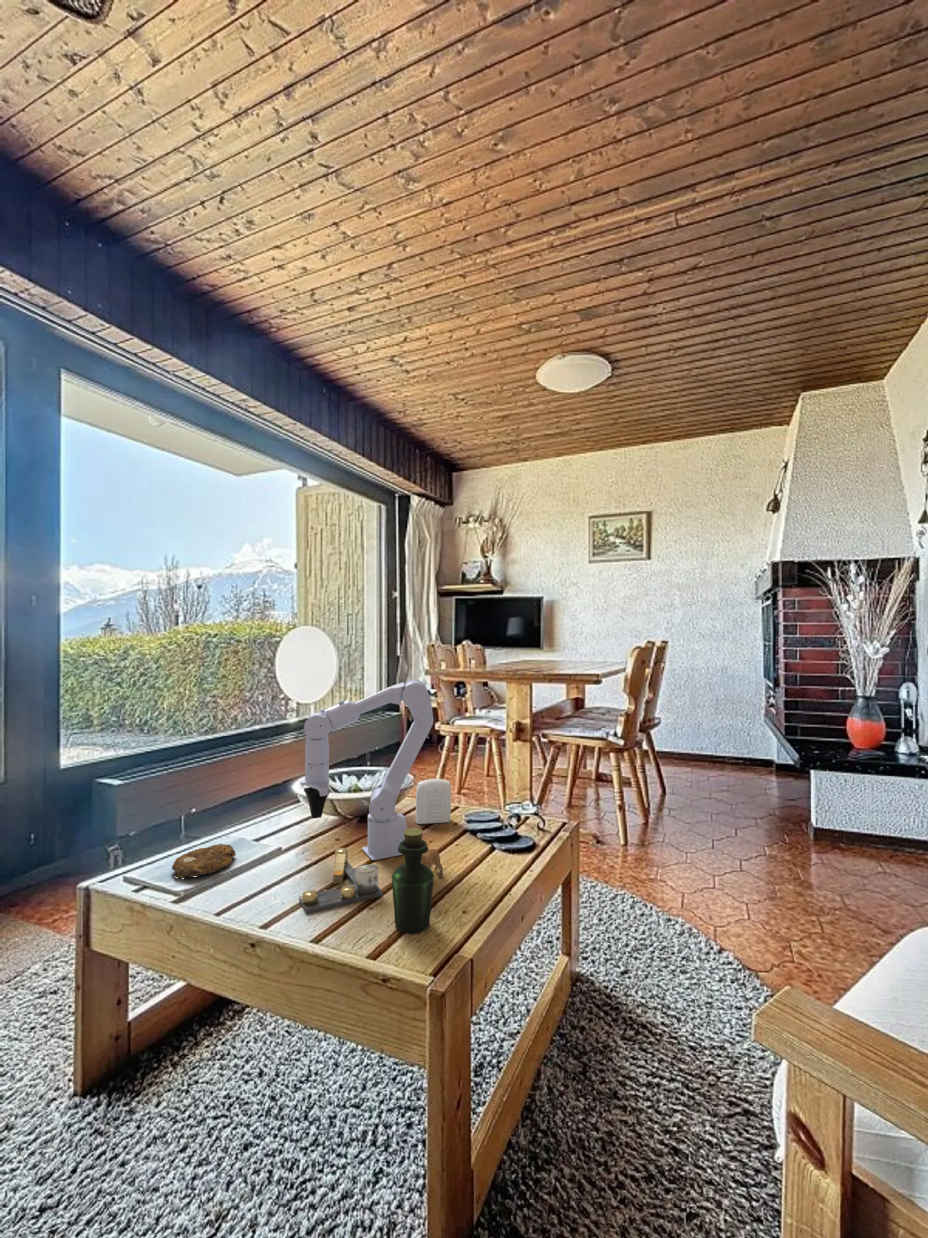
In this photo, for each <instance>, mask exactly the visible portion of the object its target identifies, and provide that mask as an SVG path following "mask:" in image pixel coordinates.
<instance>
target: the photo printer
mask: <svg viewBox="0 0 928 1238" xmlns="http://www.w3.org/2000/svg"><path fill="white" fill-rule="evenodd" d="M415 792H416V795H415V797H416V798H415V799H416V800H415V823H416V824H417V825H425V824H426V825H427V824H442V823H443V824H445V823H450V822H451V813H452V812H451V810H452V808H451V807H452V803H451V802H452V787H451V781H449V780H446V779H444V778H443V779H441V778H429V779H425V780H421V781H418V782H417V784H416V791H415Z"/></svg>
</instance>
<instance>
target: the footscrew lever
mask: <svg viewBox="0 0 928 1238" xmlns="http://www.w3.org/2000/svg"><path fill="white" fill-rule="evenodd" d="M348 858H349V849H348V848H346V847H339V848H336V849H335V850H334V869H333V874H332V884H334V885H336V884H343V883H344V876H345V874H344V868H345V862H348V863H349V859H348Z"/></svg>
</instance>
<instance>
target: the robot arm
mask: <svg viewBox="0 0 928 1238" xmlns="http://www.w3.org/2000/svg"><path fill="white" fill-rule="evenodd" d="M402 701H403V703H404V704H405V706H406V707H407V708H408V710H409V711H410V713H411V716H412V718H413V722H412V723H411V725H410V728H409V730H408V731H407V733H406V735H405V737H404V739H403V741H402V742H401V745H400V746H399V748H398V751H397V753H396V755H395V757H394V759H393V760H392V762H391V764H390V767H389V768H388V770H387V772H386V773H385V776H384V777H383V778H382V780H381V782H380V784H378V786H376V787H375V788H374V789H373V790H372V791H371V794H370V803H369V806H368V812H369V813H368V814H367V846H363V847H362V848H361V850H362V851H363V852H364V853H365V854H366V856H367V857H368V858H369V859H370V860H371V861H378V860H383V859H388V858H392V857H398V856H402V855H403V854H401V853H399V852H398V847H399V844H400V842H402V841H403V840H405V838H404V833H403V831H404V830H406V829H408V826H407V819H406V817H405V816H404V814H402V813H397V812H396V802H397V800H398V797H399V796H400V792H401V789H402V786H403V784H404V783H405V780H406V778H407V777H408V774H409V772H410V770H411V769H412V767H413V764H414V762H415V760H416V758H417V756H418V755H419V752H420V750H421V748H422V746H423V744H424V742H425V740H426V738H427V736H428V734H429V733H430V731H431V729H432V727H433V725H434V720H435V719H434V715H433V714H434V713H433V705H432V698H431V695H430V693H429V691H428V689H427V688H426V685H425V684H424V682H422V680H419V679H416V678H415V679H414V678H412V679H409V680H407V681H406V682H404V681H403V682H399V683H397V684H393V685H391V686H388V687H385V688H384V689H382V690H380V691H377V692H375V693H373V694H371V695H369V696H367V697H365V698H363V699H360V700H357V701H356V702H355V701H352V700H350V699H348V700H344V699H341V700H339V701H338V702H337V703H338V704H336V705H334V706H331V707H329V708H327V709H325V708H321V709H320V712H315V713H313V714H311V715H310V716H309V717H308V718H307V720H305V722H304V726H303V729H304V734H305V735H306V736H305V746H304V747H305V750H304V754H305V755H304V756H305V757H304V763H305V764H304V780H300V781H299V785H300V786H306V787H305V788H303V791H304V793H305V795H306V798H307V801H308V805H309V811H310V815H311V818H312V819H319V818H320V819H321V818H322V815H323V812H324V807H325V804H326V801H327V799H328V797H329V795H330V792H331V790H330V787H329V785H330V782H331V781H330V778H329V777H330V772H329V771H330V766H329V765H330V743H329V732H335V731H338V730H340V729H342V728H345V727H347V726H349V725H351V724H354V723H356V722H358V720H359V717H360V715H362V714H364V713H366V712H369V711H370V712H371V711H372V710H374V709H377V708H380V707H382V706H384V705H387V704H393V705H398V706H401V705H402ZM403 856H404V855H403Z"/></svg>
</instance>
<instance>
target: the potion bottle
mask: <svg viewBox="0 0 928 1238" xmlns="http://www.w3.org/2000/svg"><path fill="white" fill-rule="evenodd" d="M403 833H404V838H405V840H403V841H402V842H400V844H399V847H398V852H399V853H401V854H403V858H404V863H402V864H401V865H399V866H398V867H395V869H394V870H393V873H392V874H391V887H392V888H391V889H392V899H393V900H392V901H393V912H394V913H393V914H394V915H393V916H394V925H395V928H396V929H397V930H398V931H400V932H401V933H403V934H408V935H409V934H410V935H414V934H419V933H422V932H424V931H426V929H428V928H429V926H430V921H431V913H432V911H431V910H432V902H433V901H432V899H433V892H434V880H435V879H434V878H435V875H434V873H433V870H432V868H430V867H428V866H427V865H424V864H422V863H420V862H421V859H422V855H424V854H425V853H426V852H427V851H428V850H429V847H428V844H427V841H426V840H424V839H422V838H423V834H424V831H423V829H421V828H419V827H418V828H417V827H410V828H407V829H406V830H404V831H403Z"/></svg>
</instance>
